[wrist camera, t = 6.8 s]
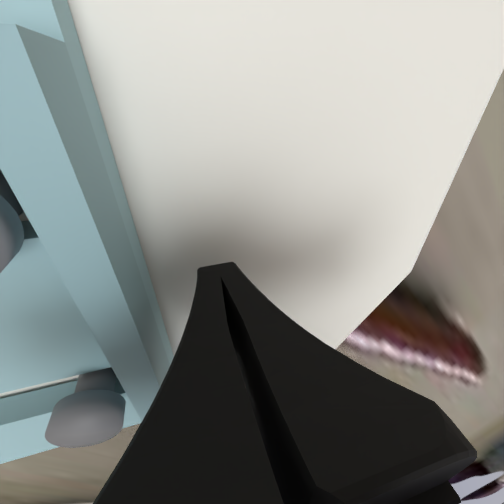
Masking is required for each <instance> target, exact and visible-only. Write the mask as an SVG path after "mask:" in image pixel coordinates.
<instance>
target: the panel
mask: <svg viewBox="0 0 504 504" xmlns="http://www.w3.org/2000/svg"><path fill="white" fill-rule="evenodd" d="M0 169H1V171H2V173H3V175H4V177H5V178H6V180H7V182H8V184H9V185H10V187H11V189H12V191H13V193H14V194H15V196H16V198H17V200H18V201H19V203H20V205H21V207H22V209H23V210H24V212H25V214H26V216H27V218H28V219H29V221H21V222H22V226H23V230H24V241H23V245H22V247H21V249H20V251H19V252H18V253H17V254H16V256H15V257H14V258H13V259H12V260H11V261H10V263H9V264H8V265H7V266H6V267H5V268H4V270H3V271H2V272H1V273H0V393H4V392H9V391H13V390H17V389H21V388H25V387H30V386H34V385H38V384H42V383H47V382H51V381H55V380H59V379H63V378H68V377H72V376H76V375H80V374H84V373H89V372H93V371H97V370H101V369H106V368H110V367H112V369H113V371H114V373H115V374H116V376H117V377H116V383H115V389H114V392H116V393H119V394H120V395H122V396H123V397H124V399H125V401H126V405H125V414H124V422H123V428H126V427H129V426H133V425H136V424H140V423H141V422H142V421H143V419H144V417H145V415H146V413H147V412H148V410H149V408H150V406H151V404H152V402H153V400H154V398H155V396H156V394H157V392H158V390H159V388H160V386H161V384H162V382H163V380H164V378H165V376H166V374H167V371H168V369H169V367H170V365H171V363H172V360H173V358H174V355H173V352H172V348H171V345H170V342H169V338H168V335H167V332H166V328H165V325H164V322H163V318H162V315H161V312H160V308H159V305H158V302H157V298H156V295H155V292H154V288H153V285H152V282H151V278H150V275H149V272H148V268H147V265H146V262H145V258H144V255H143V252H142V248H141V245H140V242H139V238H138V235H137V232H136V228H135V225H134V222H133V218H132V215H131V212H130V208H129V205H128V202H127V198H126V195H125V192H124V188H123V185H122V182H121V178H120V175H119V172H118V168H117V165H116V162H115V158H114V155H113V152H112V148H111V145H110V142H109V138H108V135H107V132H106V128H105V125H104V122H103V118H102V115H101V112H100V108H99V105H98V102H97V98H96V95H95V92H94V88H93V85H92V82H91V78H90V75H89V72H88V68H87V65H86V62H85V58H84V55H83V52H82V48H81V45H80V42H79V38H78V35H77V32H76V28H75V25H74V22H73V18H72V15H71V12H70V8H69V5H68V2H67V0H0ZM77 381H78V380H77ZM77 381H73V382H69V383H65V384H61V385H57V386H52V387H48V388H44V389H40V390H36V391H32V392H28V393H23V394H19V395H15V396H11V397H7V398H3V399H0V464H2V463H5V462H9V461H12V460H16V459H19V458H22V457H26V456H29V455H33V454H36V453H40V452H43V451H47V450H50V449H53V448H57V447H60V446H56V445H53V444H51V443H49V442H48V441H47V440H46V439H45V432H46V429H47V426H48V423H49V420H50V417H51V414H52V411H53V408H54V406H55V405H56V403H57V402H58V401H60V400H61V399H62V398H64V397H66V396H68V395H71V394H73V393H74V392H75V388H76V385H77Z"/></svg>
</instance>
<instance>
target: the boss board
mask: <svg viewBox="0 0 504 504" xmlns="http://www.w3.org/2000/svg"><path fill="white" fill-rule="evenodd" d="M67 2H68V5H69V8H70V12H71V15H72V18H73V22H74V25H75V28H76V32H77V35H78V38H79V42H80V45H81V48H82V52H83V55H84V58H85V62H86V65H87V68H88V72H89V75H90V78H91V82H92V85H93V88H94V92H95V95H96V98H97V102H98V105H99V108H100V112H101V115H102V118H103V122H104V125H105V128H106V132H107V135H108V138H109V142H110V145H111V148H112V152H113V155H114V158H115V162H116V165H117V168H118V172H119V175H120V178H121V182H122V185H123V188H124V192H125V195H126V198H127V202H128V205H129V208H130V212H131V215H132V218H133V222H134V225H135V228H136V232H137V235H138V238H139V242H140V245H141V248H142V252H143V255H144V258H145V262H146V265H147V268H148V272H149V275H150V278H151V282H152V285H153V288H154V292H155V295H156V298H157V302H158V305H159V308H160V312H161V315H162V318H163V322H164V325H165V328H166V332H167V335H168V338H169V342H170V345H171V348H172V352H173V355H174V356H175V353H176V351H177V348H178V346H179V343H180V341H181V338H182V335H183V332H184V329H185V326H186V323H187V320H188V317H189V314H190V311H191V307H192V303H193V299H194V294H195V289H196V283H197V270H198V269H199V268H200V267H204V266H210V265H216V264H221V263H227V262H234V263H236V265H237V266H238V267H239V268H240V270H241V271H242V272H243V273H244V274H245V276H246V277H247V278H248V279H249V280H250V281H251V282H252V283H253V284H254V285H255V286H256V287H257V288H258V289H259V290H260V291H261V292H262V293H263V294H264V295H265V296H266V297H267V298H268V299H269V300H270V301H271V302H272V303H273V304H274V305H275V306H277V307H278V308H279V309H280V310H281V311H282V312H284V313H285V314H286V315H287V316H288V317H290V318H291V319H292V320H293V321H295V322H296V323H297V324H299V325H300V326H301V327H303V328H304V329H305V330H307V331H308V332H309V333H311V334H312V335H314V336H315V337H317V338H318V339H320V340H321V341H322V342H324V343H325V344H327V345H329V346H330V347H332V348H334V349H336V348H337V347H338V346H339V345H340V344H341V343H342V342H343V341H344V340H345V339H346V338H347V337H348V336H349V335H350V334H351V333H352V332H353V331H354V330H355V329H356V327H357V326H358V325H359V324H360V323H361V322H362V321H363V320H364V319H365V318H366V317H367V316H368V315H369V314H370V313H371V312H372V311H373V310H374V309H375V308H376V307H377V306H378V305H379V304H380V303H381V302H382V301H383V300H384V299H385V298H386V297H387V296H388V295H389V294H390V293H391V292H392V291H393V290H394V288H395V287H396V286H397V285H398V284H399V283H400V282H401V281H402V280H403V279H404V278H405V277H406V276H407V275H408V274H409V273H410V272H411V270H412V268H413V266H414V264H415V262H416V259H417V257H418V255H419V253H420V251H421V249H422V246H423V244H424V242H425V240H426V238H427V235H428V233H429V231H430V229H431V227H432V224H433V222H434V220H435V218H436V216H437V213H438V211H439V209H440V207H441V205H442V202H443V200H444V198H445V196H446V194H447V192H448V189H449V187H450V185H451V183H452V181H453V178H454V176H455V174H456V172H457V170H458V167H459V165H460V163H461V161H462V159H463V156H464V154H465V152H466V150H467V148H468V145H469V143H470V141H471V139H472V137H473V135H474V132H475V130H476V128H477V126H478V124H479V121H480V119H481V117H482V115H483V113H484V110H485V108H486V106H487V104H488V102H489V99H490V97H491V95H492V93H493V91H494V89H495V86H496V84H497V82H498V80H499V78H500V75H501V73H502V71H503V69H504V0H67ZM21 221H29V219H28V218H27V216H26V214H25V212H24V210H23V209H22V207H21V205H20V203H19V201H18V200H17V198H16V196H15V194H14V193H13V191H12V189H11V187H10V185H9V184H8V182H7V180H6V178H5V177H4V175H3V173H2V171H1V169H0V273H1V272H2V271H3V270H4V268H5V267H6V266H7V265H8V264H9V263H10V261H11V260H12V259H13V258H14V257H15V256H16V254H17V253H18V252H19V251H20V249H21V247H22V245H23V241H24V230H23V226H22V222H21ZM116 377H117V376H116V374H115V373H114V371H113V369H112V367H110V368H106V369H101V370H97V371H93V372H89V373H84V374H80V375H76V376H72V377H68V378H63V379H59V380H55V381H51V382H47V383H42V384H38V385H34V386H30V387H25V388H21V389H17V390H13V391H9V392H4V393H0V399H3V398H7V397H11V396H15V395H19V394H23V393H28V392H32V391H36V390H40V389H44V388H48V387H52V386H57V385H61V384H65V383H69V382H73V381H77V380H78V381H77V385H76V388H75V392H74V393H73V394H71V395H68V396H66V397H64V398H62V399H61V400H60V401H58V402H57V403H56V405H55V406H54V408H53V411H52V414H51V417H50V420H49V423H48V426H47V429H46V432H45V439H46V440H47V441H48V442H49V443H51V444H53V445H56V446H60V447H68V448H76V447H86V446H91V445H95V444H99V443H102V442H104V441H107V440H109V439H111V438H113V437H114V436H116V435H117V434H118V433H119V432H120V431H121V430H122V428H123V422H124V414H125V405H126V401H125V399H124V397H123V396H122V395H120V394H119V393H116V392H114V389H115V383H116Z"/></svg>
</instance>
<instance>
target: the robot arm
mask: <svg viewBox="0 0 504 504" xmlns="http://www.w3.org/2000/svg"><path fill="white" fill-rule="evenodd" d="M476 458H477V451H476V450H475V449H474V447H473V446H472V445H471V444H470V442H469V441H468V440H467V439H466V437H465V436H464V435H463V434H462V433H461V431H460V430H459V429H458V428H457V426H456V425H455V424H454V423H453V421H452V420H451V419H450V418H449V417H448V416H447V415H446V414H445V413H444V412H443V410H442V409H441V408H440V407H439V406H438V405H437V404H436V403H435V402H434V401H432V400H430V399H428V398H426V397H424V396H422V395H419V394H417V393H415V392H413V391H411V390H409V389H407V388H405V387H403V386H401V385H399V384H396V383H394V382H392V381H390V380H388V379H386V378H384V377H382V376H380V375H378V374H377V373H375V372H373V371H371V370H369V369H367V368H366V367H364V366H362V365H360V364H358V363H357V362H355V361H353V360H352V359H350V358H348V357H347V356H345V355H343V354H342V353H340V352H338V351H337V350H335V349H334V348H332V347H330V346H329V345H327V344H325V343H324V342H322V341H321V340H320V339H318V338H317V337H315V336H314V335H312V334H311V333H309V332H308V331H307V330H305V329H304V328H303V327H301V326H300V325H299V324H297V323H296V322H295V321H293V320H292V319H291V318H290V317H288V316H287V315H286V314H285V313H284V312H282V311H281V310H280V309H279V308H278V307H277V306H275V305H274V304H273V303H272V302H271V301H270V300H269V299H268V298H267V297H266V296H265V295H264V294H263V293H262V292H261V291H260V290H259V289H258V288H257V287H256V286H255V285H254V284H253V283H252V282H251V281H250V280H249V279H248V278H247V277H246V276H245V274H244V273H243V272H242V271H241V270H240V268H239V267H238V266H237V265H236V263H234V262H227V263H221V264H216V265H210V266H204V267H200V268H199V269H198V270H197V283H196V289H195V294H194V299H193V303H192V307H191V311H190V314H189V317H188V320H187V323H186V326H185V329H184V332H183V335H182V338H181V341H180V343H179V346H178V348H177V351H176V353H175V356H174V358H173V360H172V363H171V365H170V367H169V369H168V371H167V374H166V376H165V378H164V380H163V382H162V384H161V386H160V388H159V390H158V392H157V394H156V396H155V398H154V400H153V402H152V404H151V406H150V408H149V410H148V412H147V413H146V415H145V417H144V419H143V421H142V422H141V424H140V426H139V428H138V430H137V431H136V433H135V435H134V437H133V438H132V440H131V442H130V444H129V446H128V447H127V449H126V451H125V453H124V454H123V456H122V458H121V459H120V461H119V463H118V464H117V466H116V467H115V469H114V471H113V472H112V474H111V475H110V477H109V479H108V480H107V482H106V483H105V485H104V487H103V488H102V490H101V491H100V493H99V495H98V496H97V498H96V499H95V501H94V503H93V504H459V503H461V500H460V497H459V496H458V494H457V493H456V491H455V490H454V489H453V487H452V486H451V484H450V483H449V481H448V480H449V479H450V478H452V477H453V476H455V475H456V474H457V473H459V472H460V471H462V470H463V469H464V468H466V467H467V466H469V465H470V464H471V463H472V462H474V461H475V459H476ZM502 504H504V503H502Z"/></svg>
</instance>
